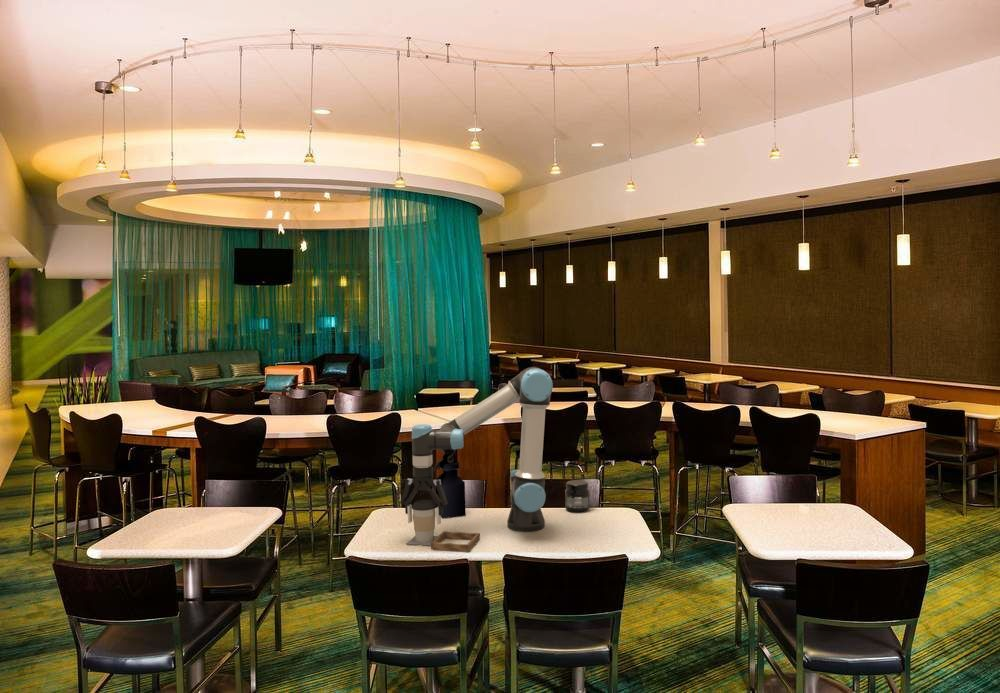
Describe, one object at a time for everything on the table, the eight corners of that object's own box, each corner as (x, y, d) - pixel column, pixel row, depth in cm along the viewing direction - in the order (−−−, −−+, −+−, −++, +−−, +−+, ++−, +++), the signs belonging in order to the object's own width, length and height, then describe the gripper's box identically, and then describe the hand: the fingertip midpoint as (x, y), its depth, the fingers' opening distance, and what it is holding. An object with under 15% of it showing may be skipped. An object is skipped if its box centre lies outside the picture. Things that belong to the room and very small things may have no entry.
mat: (443, 537, 280) (443, 536, 280) (433, 546, 269) (433, 545, 269) (416, 535, 283) (416, 534, 283) (406, 544, 272) (406, 543, 272)
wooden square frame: (479, 539, 276) (479, 533, 276) (469, 552, 262) (468, 545, 262) (443, 537, 280) (443, 531, 280) (431, 549, 266) (430, 543, 266)
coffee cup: (424, 534, 282) (423, 496, 282) (441, 538, 277) (440, 500, 276) (407, 540, 275) (406, 501, 275) (424, 545, 270) (423, 505, 269)
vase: (431, 511, 318) (429, 431, 316) (457, 508, 322) (455, 429, 320) (439, 519, 304) (437, 436, 303) (466, 516, 308) (463, 434, 306)
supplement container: (578, 505, 321) (578, 478, 321) (594, 510, 312) (594, 483, 312) (560, 509, 315) (559, 482, 315) (576, 514, 306) (575, 486, 306)
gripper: (455, 464, 275) (456, 521, 276) (397, 462, 281) (399, 518, 282) (449, 468, 268) (450, 527, 269) (390, 466, 274) (391, 524, 275)
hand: (424, 523), depth 276 cm, fingers open, 11 cm apart
